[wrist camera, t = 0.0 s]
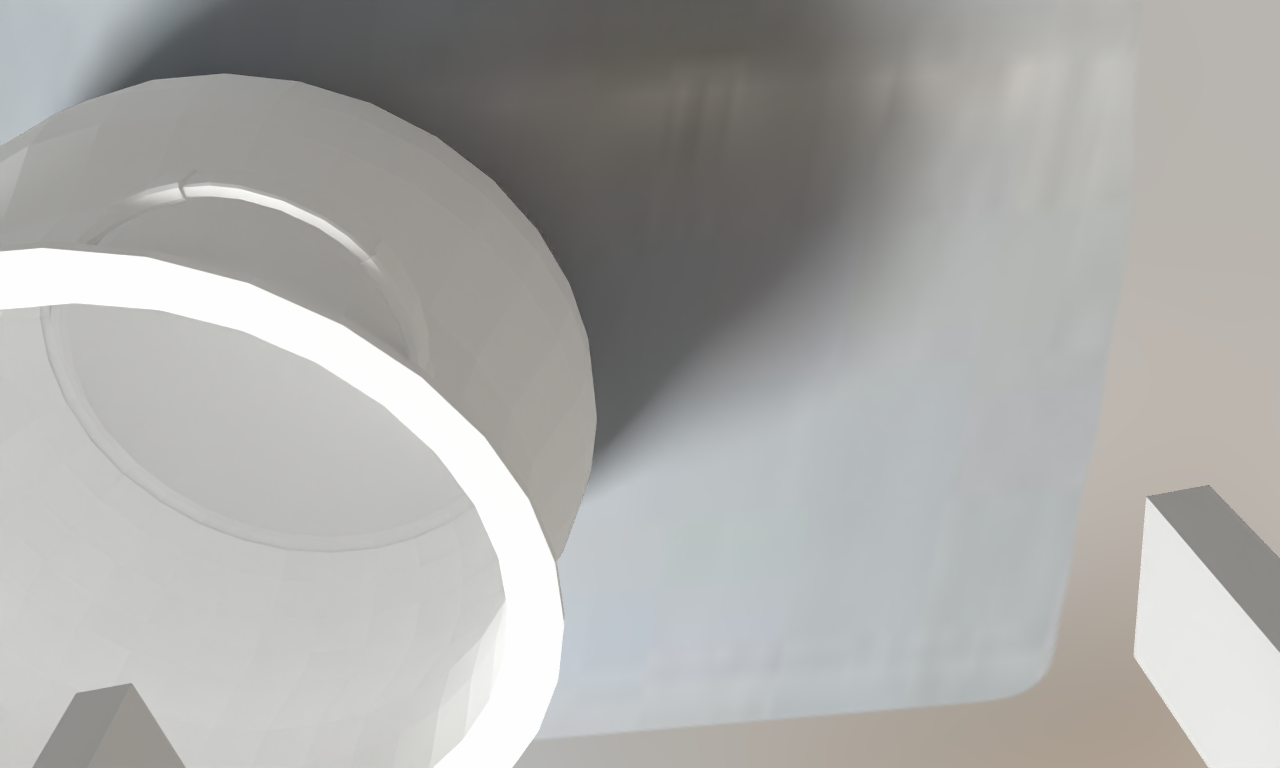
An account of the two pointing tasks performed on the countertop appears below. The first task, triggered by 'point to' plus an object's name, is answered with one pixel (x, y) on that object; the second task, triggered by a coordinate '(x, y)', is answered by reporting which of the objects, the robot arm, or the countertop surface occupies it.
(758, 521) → the countertop surface
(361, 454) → the pot
